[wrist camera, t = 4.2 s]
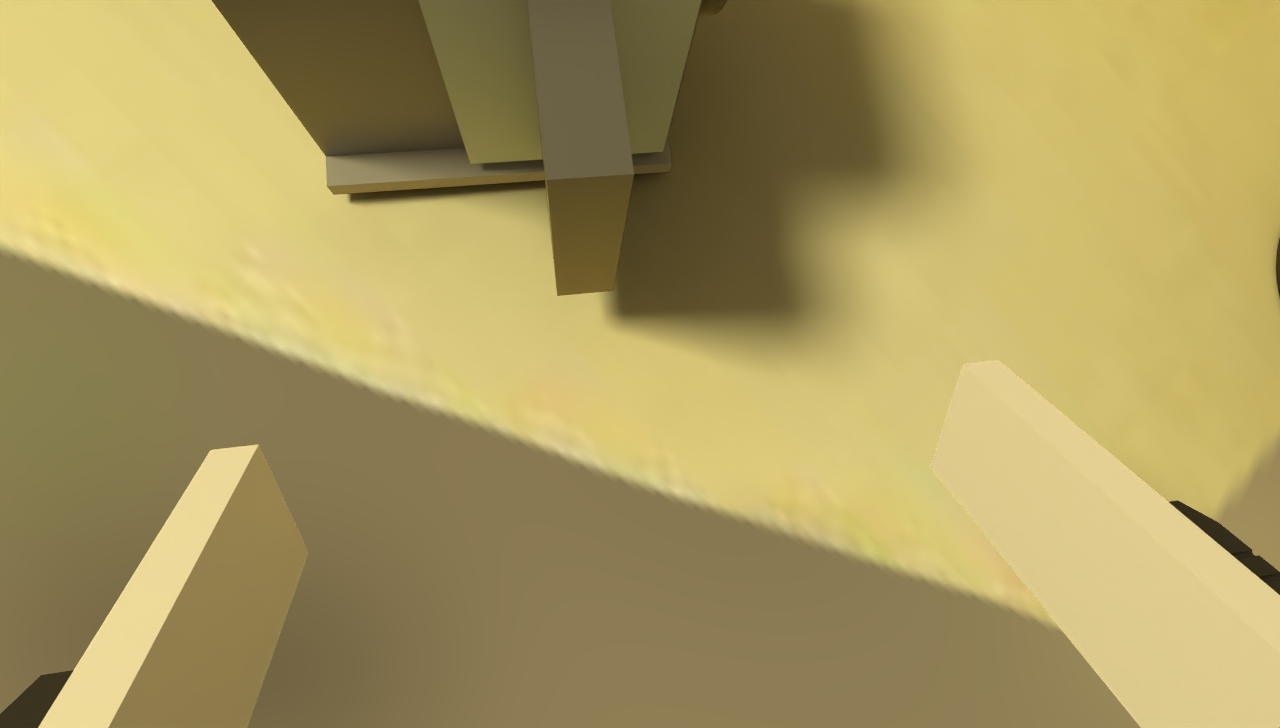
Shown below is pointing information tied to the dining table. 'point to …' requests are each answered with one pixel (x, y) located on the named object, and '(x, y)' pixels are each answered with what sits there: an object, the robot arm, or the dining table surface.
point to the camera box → (377, 92)
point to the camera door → (566, 105)
